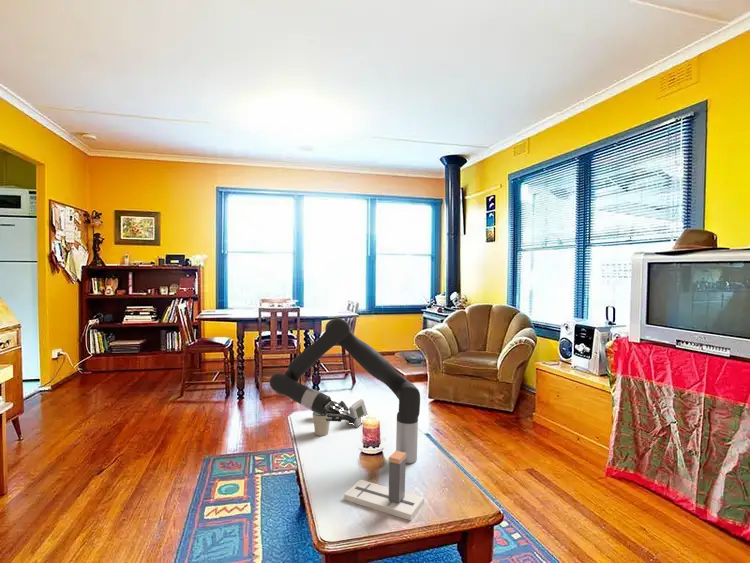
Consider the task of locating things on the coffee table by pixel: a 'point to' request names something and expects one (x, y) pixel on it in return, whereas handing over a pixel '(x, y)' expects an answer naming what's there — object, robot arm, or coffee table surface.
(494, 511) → the coffee table surface
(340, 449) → the coffee table surface
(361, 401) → the digital clock
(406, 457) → the robot arm
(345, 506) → the coffee table surface
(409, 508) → the plate
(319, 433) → the ice cream cone
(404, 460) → the post
